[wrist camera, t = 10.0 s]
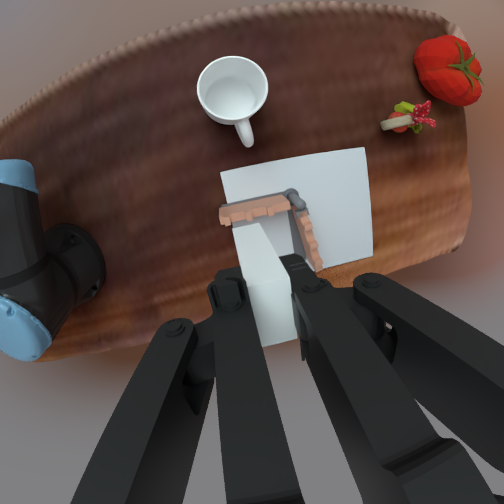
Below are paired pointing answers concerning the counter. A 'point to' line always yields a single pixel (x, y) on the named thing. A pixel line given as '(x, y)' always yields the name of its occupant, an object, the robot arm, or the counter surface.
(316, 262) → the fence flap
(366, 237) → the card
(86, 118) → the counter surface
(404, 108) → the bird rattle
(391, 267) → the counter surface
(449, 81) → the tomato
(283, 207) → the fence fixed
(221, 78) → the mug
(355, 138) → the counter surface
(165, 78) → the counter surface
